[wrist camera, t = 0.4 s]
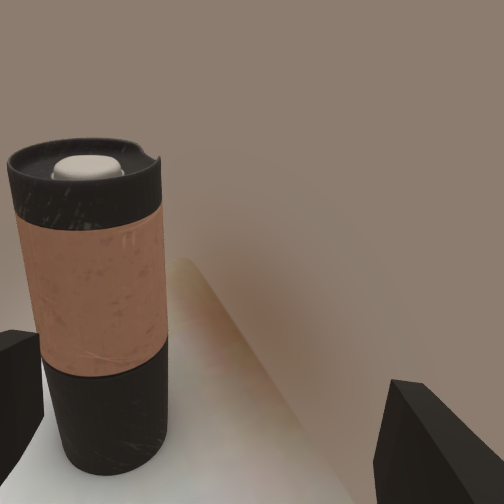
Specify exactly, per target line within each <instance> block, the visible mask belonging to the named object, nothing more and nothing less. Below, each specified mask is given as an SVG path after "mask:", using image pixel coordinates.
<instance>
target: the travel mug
mask: <svg viewBox="0 0 504 504" xmlns="http://www.w3.org/2000/svg"><path fill="white" fill-rule="evenodd" d="M7 171H8V176H9V182H10V187H11V193H12V198H13V204H14V209H15V215H16V221H17V226H18V232H19V237H20V243H21V248H22V254H23V259H24V265H25V271H26V276H27V281H28V287H29V293H30V298H31V303H32V309H33V314H34V320H35V326H36V331H37V333H39V335H40V352H41V358H42V362H43V366H44V370H45V374H46V378H47V383H48V387H49V391H50V395H51V399H52V403H53V408H54V412H55V416H56V420H57V424H58V429H59V433H60V437H61V440H62V444H63V448H64V451H65V453H66V455H67V457H68V458H69V460H70V461H71V462H72V463H73V464H74V465H75V466H76V467H78V468H79V469H81V470H83V471H85V472H88V473H92V474H96V475H114V474H120V473H124V472H127V471H130V470H133V469H135V468H137V467H139V466H140V465H142V464H144V463H145V462H147V461H148V460H149V459H150V458H151V457H152V456H153V455H155V453H156V452H157V451H158V450H159V448H160V447H161V445H162V443H163V441H164V439H165V436H166V432H167V420H168V317H167V295H166V274H165V254H164V232H163V209H162V187H161V159H160V156H158V158H157V160H154V159H152V158H151V157H149V156H147V155H146V154H145V153H144V151H143V150H142V148H141V147H140V145H138V144H137V143H134V142H131V141H127V140H121V139H111V138H73V139H63V140H55V141H49V142H43V143H39V144H36V145H32V146H29V147H26V148H23V149H21V150H19V151H17V152H15V153H14V154H13V155H11V156H10V158H9V159H8V162H7Z"/></svg>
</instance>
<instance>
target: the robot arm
mask: <svg viewBox="0 0 504 504" xmlns="http://www.w3.org/2000/svg"><path fill="white" fill-rule="evenodd" d="M43 417H44V404H43V387H42V370H41V352H40V335H39V333H33V332H26V331H18V330H8V331H4V332H1V333H0V486H1V485H2V483H3V482H4V481H5V479H6V478H7V477H8V475H9V474H10V473H11V471H12V470H13V468H14V467H15V466H16V464H17V463H18V461H19V460H20V458H21V457H22V455H23V453H24V451H25V450H26V448H27V446H28V445H29V443H30V441H31V439H32V438H33V436H34V434H35V432H36V430H37V428H38V427H39V425H40V423H41V421H42V419H43ZM373 467H374V478H375V488H376V497H377V504H504V461H503V460H501V458H500V457H499V456H497V455H496V454H495V453H494V452H493V451H492V450H491V449H490V448H489V447H488V446H487V445H486V444H485V443H484V442H483V441H482V440H481V439H479V437H477V436H476V435H475V434H474V433H473V432H472V431H471V430H470V429H469V428H468V427H467V426H466V425H465V424H464V423H463V422H462V421H461V420H460V419H459V418H458V417H457V416H456V415H455V414H454V413H453V412H452V411H451V410H450V409H449V408H448V407H447V406H446V405H445V404H444V403H443V402H442V401H441V400H440V399H439V398H438V397H437V396H436V395H435V394H434V393H433V392H432V391H431V390H429V389H428V388H427V387H426V386H425V385H424V384H423V383H416V382H408V381H401V380H393V379H392V380H391V383H390V388H389V392H388V396H387V401H386V405H385V410H384V414H383V419H382V423H381V428H380V432H379V437H378V441H377V446H376V451H375V455H374V460H373Z"/></svg>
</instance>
